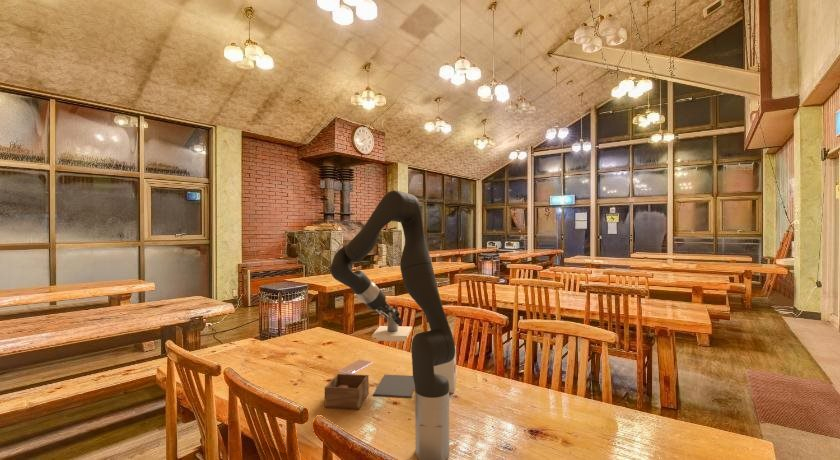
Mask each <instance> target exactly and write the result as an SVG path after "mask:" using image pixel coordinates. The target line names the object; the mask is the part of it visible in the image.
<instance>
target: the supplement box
mask: <svg viewBox="0 0 840 460" xmlns="http://www.w3.org/2000/svg"><path fill="white" fill-rule="evenodd" d="M434 373H435V374H439V375H442V376H444V377H446V378H447V379H448V381H449V394H454V393H455V391H456V390H455V389H456V386H457V346H456V345H455V356H454V358H453V360H452V361H450V362H448V363H444V364H441V365H437V366H434Z"/></svg>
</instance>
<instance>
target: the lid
mask: <svg viewBox="0 0 840 460" xmlns="http://www.w3.org/2000/svg"><path fill="white" fill-rule="evenodd" d="M396 309H397V310H398V308H396ZM398 311H399V310H398ZM389 312H390V311H389ZM388 314H389V313H388ZM386 320H387V321H386V323H387V325H379V327H378V328H377V329H376V330H375V331H374V332H373V333H372V334H371V339H376V341H378V342H404V341H405V340H407V339H408V338H409V335H410V334H411V331H412V330H413V326H405V325H403V326H400V325H398V324H397V323H396V322H395V321H394V320H393V319H392V318H391V317H387V319H386Z"/></svg>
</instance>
